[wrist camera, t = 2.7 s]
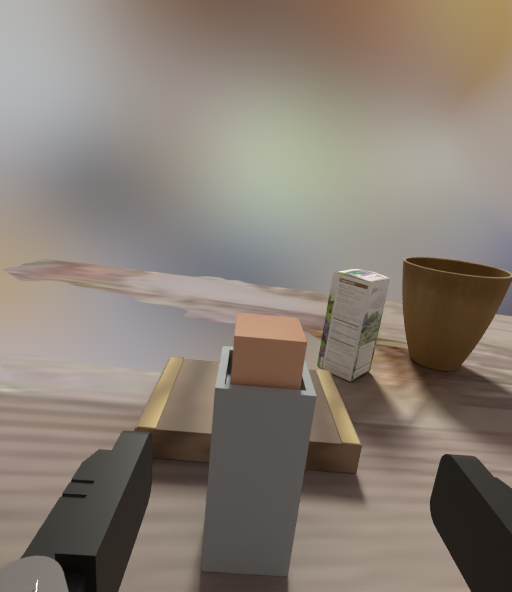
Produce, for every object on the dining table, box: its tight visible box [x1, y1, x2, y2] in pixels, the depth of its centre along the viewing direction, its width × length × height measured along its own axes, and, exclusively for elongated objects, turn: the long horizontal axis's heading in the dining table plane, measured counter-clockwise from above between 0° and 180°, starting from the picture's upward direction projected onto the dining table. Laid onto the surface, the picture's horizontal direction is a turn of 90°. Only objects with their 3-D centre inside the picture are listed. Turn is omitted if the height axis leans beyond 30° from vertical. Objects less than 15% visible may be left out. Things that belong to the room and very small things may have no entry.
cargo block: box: [230, 313, 307, 390], centre depth 23 cm, size 4×4×4 cm
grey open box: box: [201, 346, 317, 577], centre depth 25 cm, size 6×6×13 cm
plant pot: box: [402, 257, 512, 371], centre depth 58 cm, size 15×15×16 cm
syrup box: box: [317, 269, 390, 382], centre depth 52 cm, size 6×6×14 cm
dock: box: [135, 357, 362, 473], centre depth 40 cm, size 20×14×3 cm
